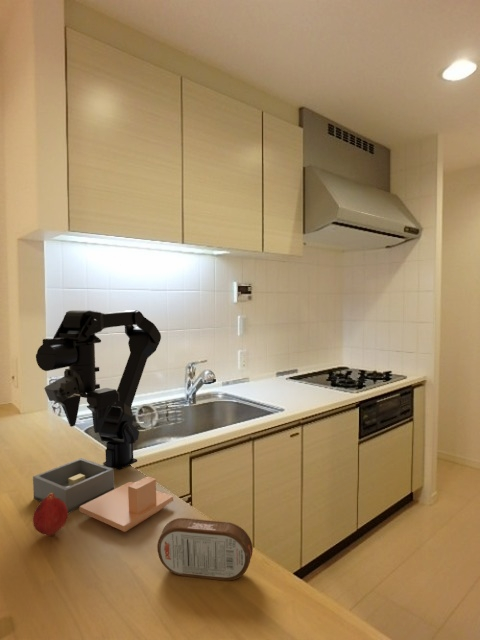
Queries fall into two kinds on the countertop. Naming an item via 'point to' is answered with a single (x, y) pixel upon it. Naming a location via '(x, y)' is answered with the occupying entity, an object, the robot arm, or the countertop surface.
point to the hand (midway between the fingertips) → (84, 429)
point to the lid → (128, 504)
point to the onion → (50, 515)
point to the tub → (74, 483)
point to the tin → (205, 549)
